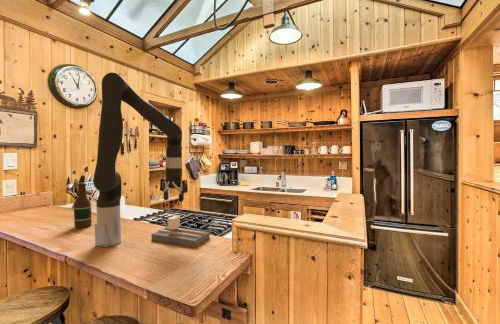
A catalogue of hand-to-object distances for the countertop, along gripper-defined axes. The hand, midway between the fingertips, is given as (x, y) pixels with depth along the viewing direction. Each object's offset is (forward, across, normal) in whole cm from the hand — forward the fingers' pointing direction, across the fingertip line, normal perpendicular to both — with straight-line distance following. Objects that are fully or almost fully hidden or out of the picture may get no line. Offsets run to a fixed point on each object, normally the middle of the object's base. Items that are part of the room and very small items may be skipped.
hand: (173, 200), depth 116 cm
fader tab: (+15, 0, 0) cm, 15 cm away
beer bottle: (+19, -58, -4) cm, 61 cm away
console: (+18, +4, 0) cm, 19 cm away
